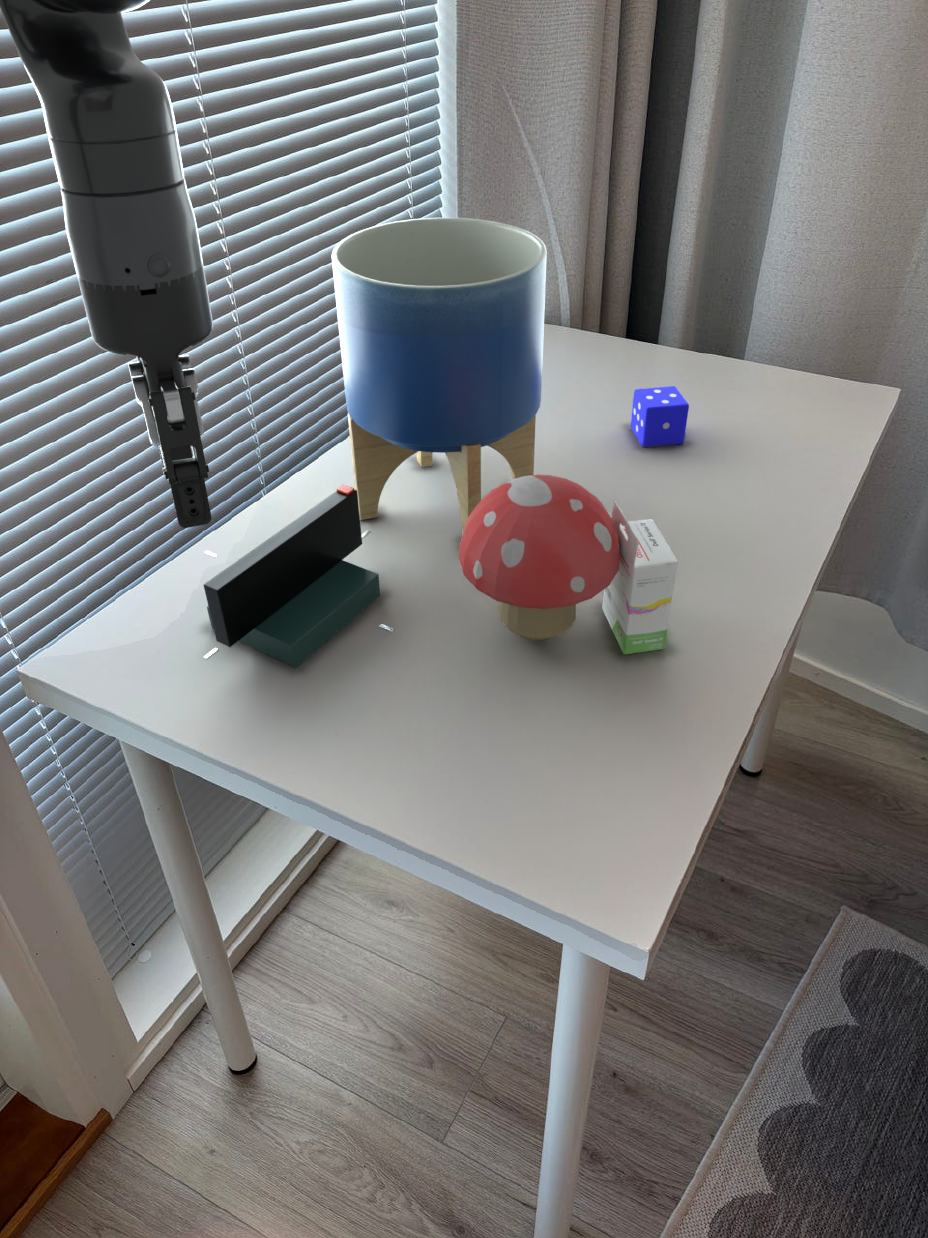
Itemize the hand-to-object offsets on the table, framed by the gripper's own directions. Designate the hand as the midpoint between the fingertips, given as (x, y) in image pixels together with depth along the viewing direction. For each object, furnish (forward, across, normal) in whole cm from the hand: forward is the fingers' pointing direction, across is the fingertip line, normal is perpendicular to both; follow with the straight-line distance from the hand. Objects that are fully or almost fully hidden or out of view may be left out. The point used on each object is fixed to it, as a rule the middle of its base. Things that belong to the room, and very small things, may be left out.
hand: (186, 495), depth 68 cm
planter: (+17, -21, +27) cm, 38 cm away
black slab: (+15, -8, +8) cm, 19 cm away
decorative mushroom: (+18, +2, +27) cm, 33 cm away
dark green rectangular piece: (+18, -8, +8) cm, 21 cm away
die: (+16, -25, +55) cm, 63 cm away
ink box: (+18, +5, +35) cm, 40 cm away
